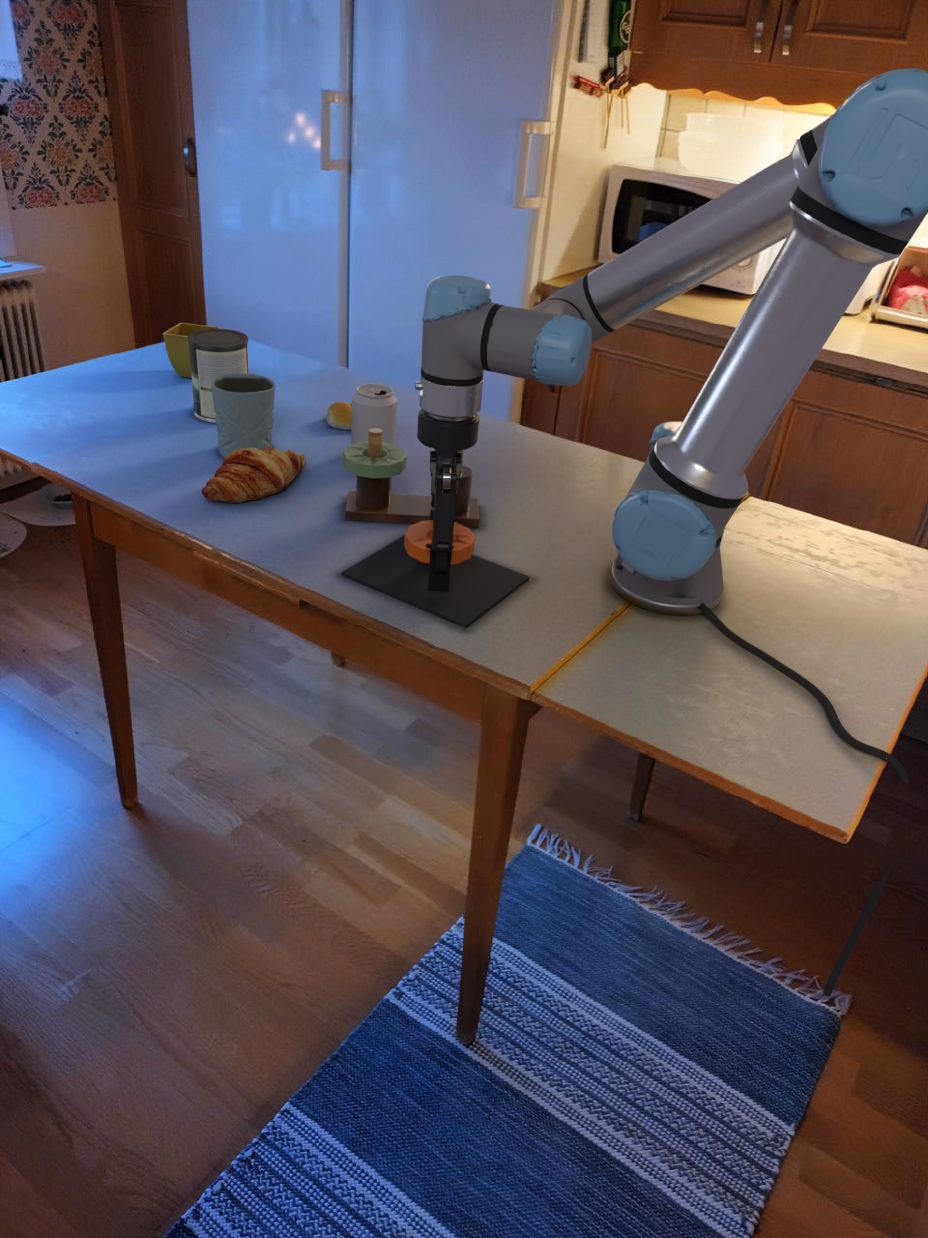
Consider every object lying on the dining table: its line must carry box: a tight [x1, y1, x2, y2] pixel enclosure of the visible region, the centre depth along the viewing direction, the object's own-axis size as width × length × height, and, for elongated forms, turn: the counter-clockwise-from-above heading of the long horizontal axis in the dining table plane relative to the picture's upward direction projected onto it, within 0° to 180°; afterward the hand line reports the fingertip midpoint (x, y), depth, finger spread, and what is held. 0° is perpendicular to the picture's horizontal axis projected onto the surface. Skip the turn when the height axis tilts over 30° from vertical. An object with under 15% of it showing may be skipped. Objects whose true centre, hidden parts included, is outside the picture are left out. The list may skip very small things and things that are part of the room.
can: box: [350, 383, 398, 446], centre depth 155 cm, size 8×8×12 cm
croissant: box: [201, 446, 307, 503], centre depth 143 cm, size 21×10×8 cm, turn 147°
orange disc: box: [404, 520, 476, 564], centre depth 122 cm, size 9×9×2 cm
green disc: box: [342, 442, 407, 478], centre depth 136 cm, size 9×9×2 cm
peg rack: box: [344, 428, 480, 529], centre depth 137 cm, size 20×7×13 cm, turn 92°
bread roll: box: [325, 401, 352, 431], centre depth 170 cm, size 8×9×4 cm
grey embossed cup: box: [211, 373, 276, 459], centre depth 152 cm, size 10×10×12 cm
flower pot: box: [162, 322, 222, 379], centre depth 184 cm, size 9×9×9 cm
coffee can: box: [188, 328, 250, 424], centre depth 166 cm, size 10×10×14 cm
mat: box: [341, 534, 530, 629], centre depth 125 cm, size 20×16×1 cm
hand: (437, 570), depth 125 cm, fingers closed on orange disc, 9 cm apart
